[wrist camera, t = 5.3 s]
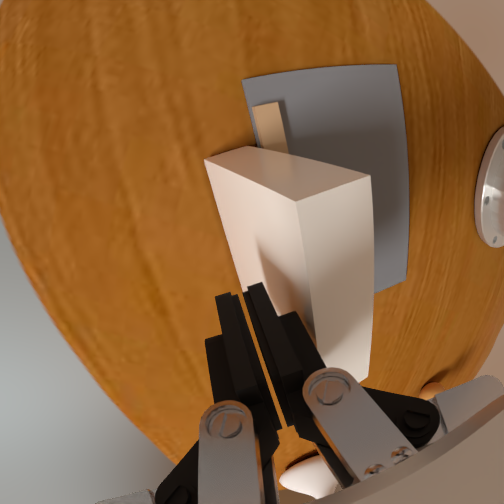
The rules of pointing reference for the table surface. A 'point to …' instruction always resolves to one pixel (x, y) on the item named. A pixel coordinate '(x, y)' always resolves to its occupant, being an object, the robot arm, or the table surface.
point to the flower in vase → (310, 478)
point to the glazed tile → (303, 244)
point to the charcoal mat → (345, 140)
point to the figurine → (431, 390)
